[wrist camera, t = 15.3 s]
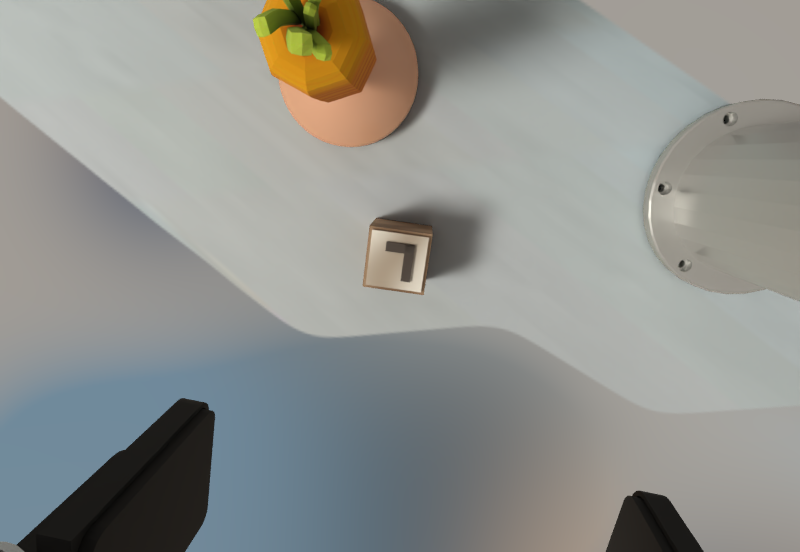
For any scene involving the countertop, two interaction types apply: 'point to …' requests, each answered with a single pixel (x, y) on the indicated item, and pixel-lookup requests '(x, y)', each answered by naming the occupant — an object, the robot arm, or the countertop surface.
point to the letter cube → (397, 256)
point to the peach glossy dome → (365, 89)
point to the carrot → (317, 46)
